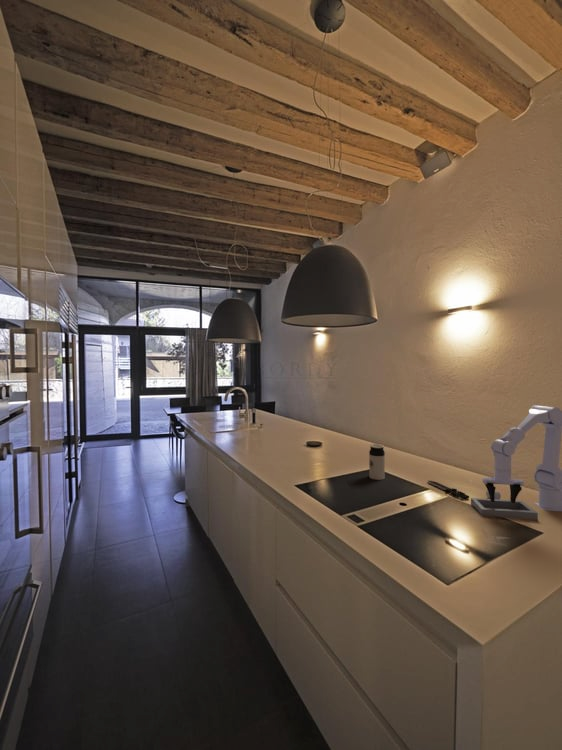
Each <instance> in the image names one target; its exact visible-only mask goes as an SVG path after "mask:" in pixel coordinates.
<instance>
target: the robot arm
mask: <svg viewBox="0 0 562 750" xmlns="http://www.w3.org/2000/svg"><path fill="white" fill-rule="evenodd" d="M537 424H542V425H543V426H544V427H545V432H544V443H543V453H542V454H543V455H542V462H541V464H538V465H537V466H536V469H535V472H534V474H533V479H534V481H535V482H536V484H537V486H538V502H533V504H534V505H536V506H538V507H539V508H540V509H542V510H543V511H552V512H562V468H561V467H560V466H559V465H560V464H559V463H560V454H561V453H560V452H561V442H562V410H561V408H560V407H557V406H547V405H546V406H545V405H538V404H535V405H532V406H531V408H529V409H528V415H527V416H526V417H525V418H524V419H523V420H522V421H521V422H520V423H519V424H518V426H516V427H510V428H509V429H508V431H507V432H506V433H505V434H503V436H501V438H500V439H499V438H498V439H495V440H494V441H493V442H492V443H491V446H490V448H491V451H492V453H493V456H494V477H482V483H483V484H484V485H485V487H486V489H487V490H488V492H489V495H490V500H491V501H492V502H494V501H495V496H494V495H495V490H497V488H496V486H495V485H506V486H507V485H509V490H510V497H509V498H510V499H509V500H511V502H512V503H515V501H517V497H518V496H519V493H520V492H521V491H522V489H523V488H522V487H524V481H523V480H522V479H518V478H517V479H515V478H512V455H514V454H515V452H516V449H517V448H518V445H519V444H520V443H521V442H522V441H523V440H524V439H525V438H526V433H527V432H529V431H530V430H531V429H532V428H534V427H535V426H536V425H537ZM487 490H486V491H487Z"/></svg>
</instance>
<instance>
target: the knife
mask: <svg viewBox="0 0 562 750" xmlns="http://www.w3.org/2000/svg"><path fill="white" fill-rule="evenodd" d="M427 482H428V483H429V484H431V485H434V486H436V487H438V488H440V489H441V490H445V493H449V494H450V495H452V496H453V497H456V498H459V499H462V500H466V499H467V500H468V499H470V496H469V495H468V494H466V493H465V492H463V491H459V490H457V488H451V487H448V486H446V485H443V484H441V483H440V482H437V481H434V480H427Z"/></svg>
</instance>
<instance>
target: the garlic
mask: <svg viewBox="0 0 562 750" xmlns="http://www.w3.org/2000/svg"><path fill="white" fill-rule="evenodd" d="M501 495H502V494H501V493H500V492H499V490H497V489H495V495H494V496H495V499H499V500H501ZM485 496H486V497H487V499H490V495H489V492H488V490H486V492H485Z"/></svg>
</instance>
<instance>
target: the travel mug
mask: <svg viewBox="0 0 562 750" xmlns="http://www.w3.org/2000/svg"><path fill="white" fill-rule="evenodd" d="M369 447H370V449H369V451H368V453H369V455H368V457H369V459H368V461H369V462H368V463H369V464H368V467H369V469H368V470H369V471H368V472H369V478H370V479H372V480H377V481H382V480H384V479H385V478H386V477H385V474H386V470H385V466H386V465H385V463H386V461H385V460H386V458H385V455H386V454H385V453H386V452H385V450H384V448H385V445H384V444H380V443H373V444H370V445H369Z"/></svg>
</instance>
